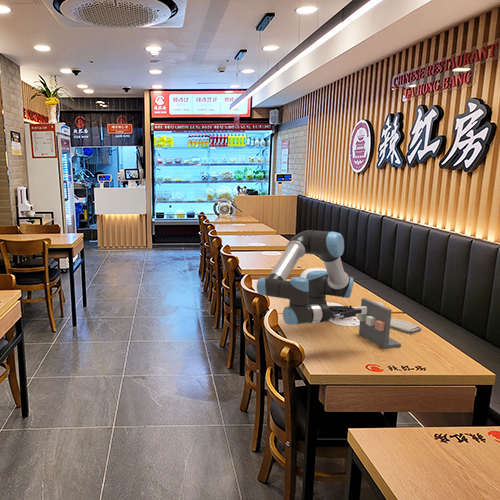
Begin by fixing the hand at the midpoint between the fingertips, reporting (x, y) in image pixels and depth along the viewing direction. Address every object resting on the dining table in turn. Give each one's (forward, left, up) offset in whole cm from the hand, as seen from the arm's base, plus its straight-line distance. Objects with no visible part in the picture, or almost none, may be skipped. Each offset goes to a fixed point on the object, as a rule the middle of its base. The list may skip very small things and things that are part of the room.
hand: (365, 309), depth 194 cm
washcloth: (-20, +36, -19) cm, 45 cm away
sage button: (-14, +9, -10) cm, 19 cm away
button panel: (-7, +14, -18) cm, 24 cm away
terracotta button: (0, +9, -10) cm, 13 cm away
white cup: (-32, +29, -18) cm, 47 cm away
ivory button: (-7, +9, -10) cm, 15 cm away
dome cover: (-106, +35, -18) cm, 113 cm away
